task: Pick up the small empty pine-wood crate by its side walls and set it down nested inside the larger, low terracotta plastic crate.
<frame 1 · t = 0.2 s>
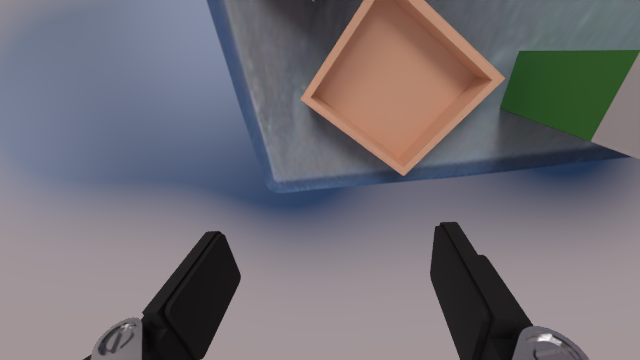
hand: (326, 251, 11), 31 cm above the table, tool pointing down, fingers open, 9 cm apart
terracotta crate: (390, 84, 35), on the table
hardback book: (576, 81, 33), on the table
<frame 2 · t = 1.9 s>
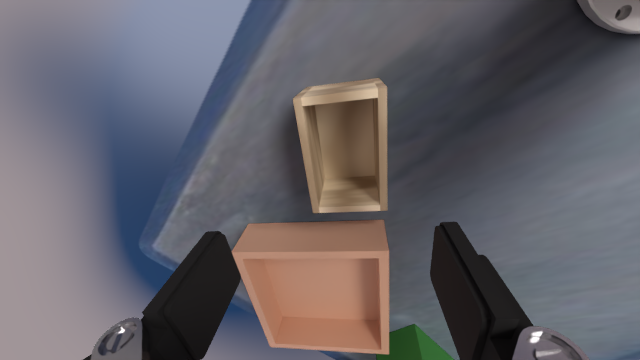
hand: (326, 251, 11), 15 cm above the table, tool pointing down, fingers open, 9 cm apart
terracotta crate: (322, 275, 34), on the table
pine crate: (346, 135, 24), on the table
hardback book: (424, 355, 41), on the table
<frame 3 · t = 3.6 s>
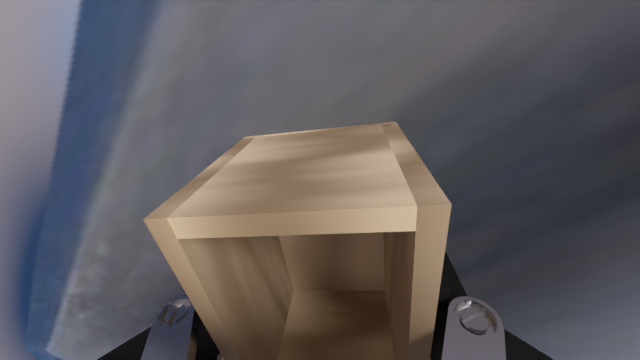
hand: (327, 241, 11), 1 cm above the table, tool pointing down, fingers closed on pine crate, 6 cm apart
pine crate: (329, 223, 12), on the table, touching gripper
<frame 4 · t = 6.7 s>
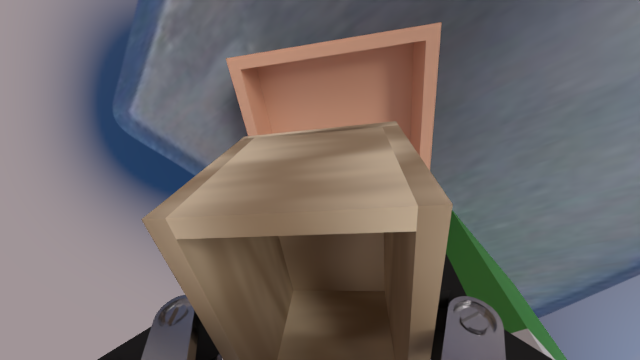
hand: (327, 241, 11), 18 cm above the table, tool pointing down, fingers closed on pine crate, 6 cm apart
terracotta crate: (340, 137, 27), on the table
pine crate: (329, 223, 12), point 17 cm above the table, touching gripper
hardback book: (458, 260, 34), on the table
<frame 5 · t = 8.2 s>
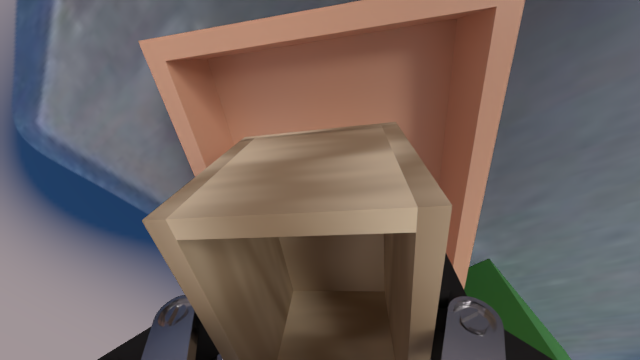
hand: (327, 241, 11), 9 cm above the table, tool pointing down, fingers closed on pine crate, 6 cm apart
terracotta crate: (336, 163, 19), on the table
pine crate: (329, 224, 12), point 8 cm above the table, touching gripper
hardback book: (493, 319, 26), on the table
when the fingers open (4 cm above the table, at t = 9.7 s): pine crate drops 1 cm, resting on terracotta crate.
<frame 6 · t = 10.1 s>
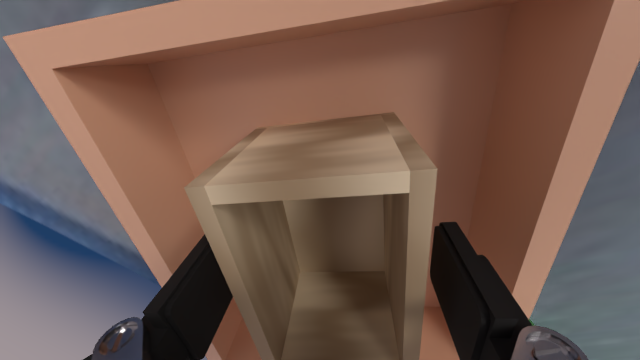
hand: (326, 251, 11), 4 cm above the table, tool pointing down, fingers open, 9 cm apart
terracotta crate: (332, 200, 14), on the table
pine crate: (334, 208, 14), point 1 cm above the table, touching terracotta crate
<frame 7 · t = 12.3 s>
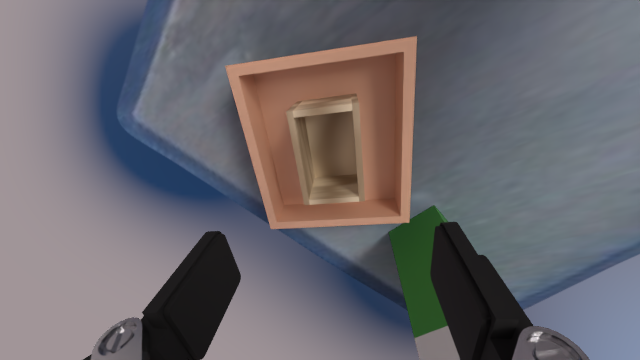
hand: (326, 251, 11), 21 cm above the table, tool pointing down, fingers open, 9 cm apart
terracotta crate: (330, 139, 30), on the table
pine crate: (331, 140, 29), point 1 cm above the table, touching terracotta crate
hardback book: (443, 255, 36), on the table
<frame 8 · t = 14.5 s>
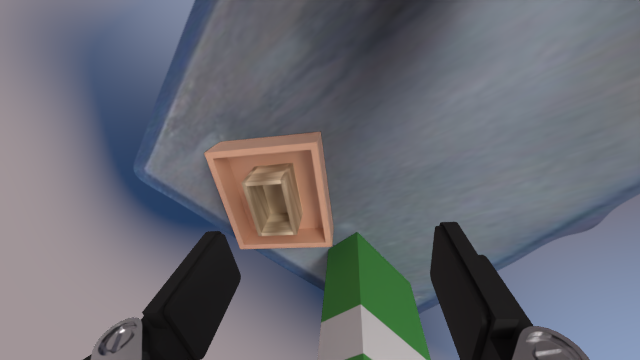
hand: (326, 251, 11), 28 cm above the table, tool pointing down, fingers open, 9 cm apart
terracotta crate: (280, 188, 43), on the table
pine crate: (280, 190, 42), point 1 cm above the table, touching terracotta crate
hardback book: (370, 266, 50), on the table
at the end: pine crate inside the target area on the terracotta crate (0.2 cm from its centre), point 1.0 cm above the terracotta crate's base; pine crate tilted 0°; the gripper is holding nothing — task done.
